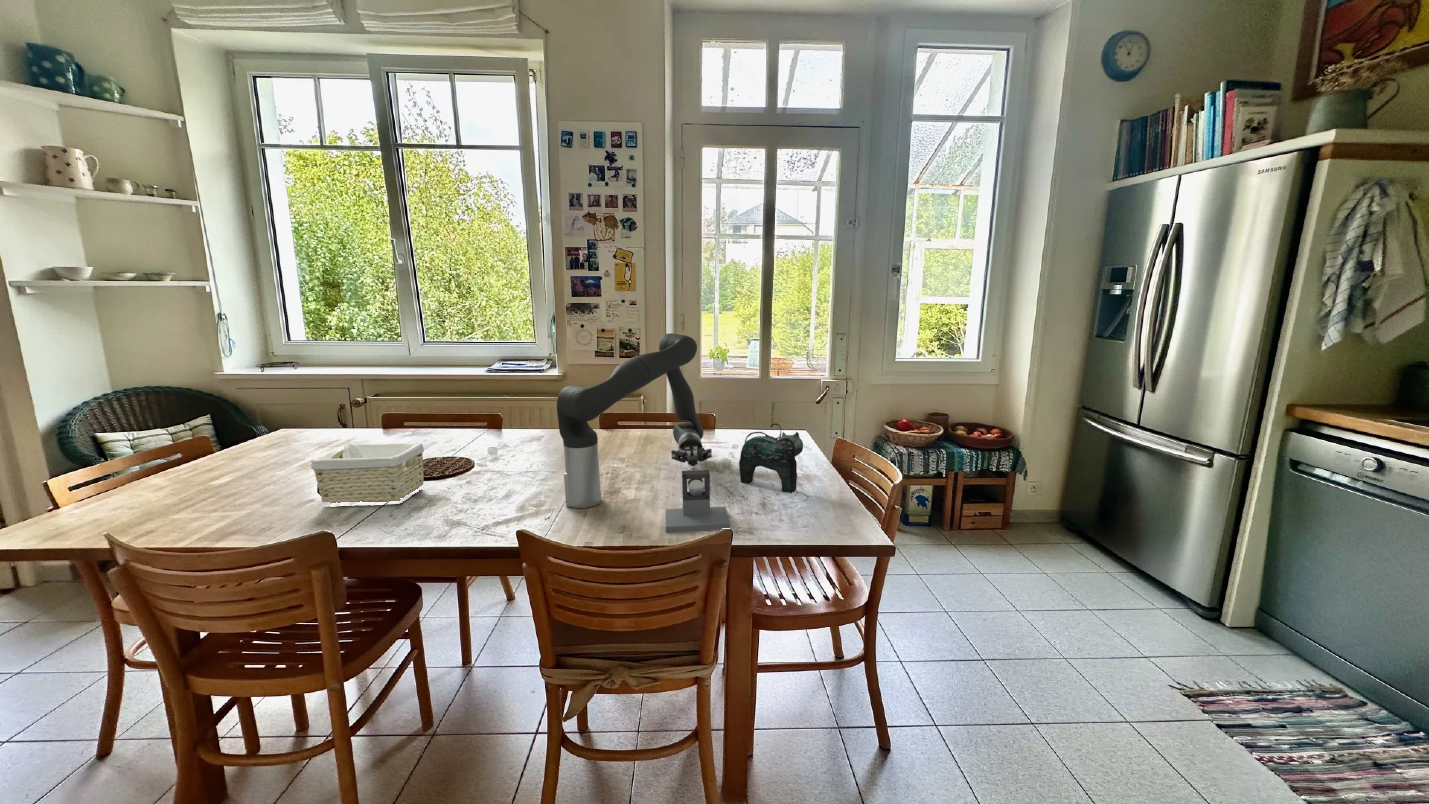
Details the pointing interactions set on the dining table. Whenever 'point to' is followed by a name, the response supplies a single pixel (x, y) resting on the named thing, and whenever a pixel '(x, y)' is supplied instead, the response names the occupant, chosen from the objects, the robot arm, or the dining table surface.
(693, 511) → the base plate
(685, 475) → the rubber collar
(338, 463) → the storage basket
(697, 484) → the steel peg
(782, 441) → the ceramic cat
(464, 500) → the dining table surface
